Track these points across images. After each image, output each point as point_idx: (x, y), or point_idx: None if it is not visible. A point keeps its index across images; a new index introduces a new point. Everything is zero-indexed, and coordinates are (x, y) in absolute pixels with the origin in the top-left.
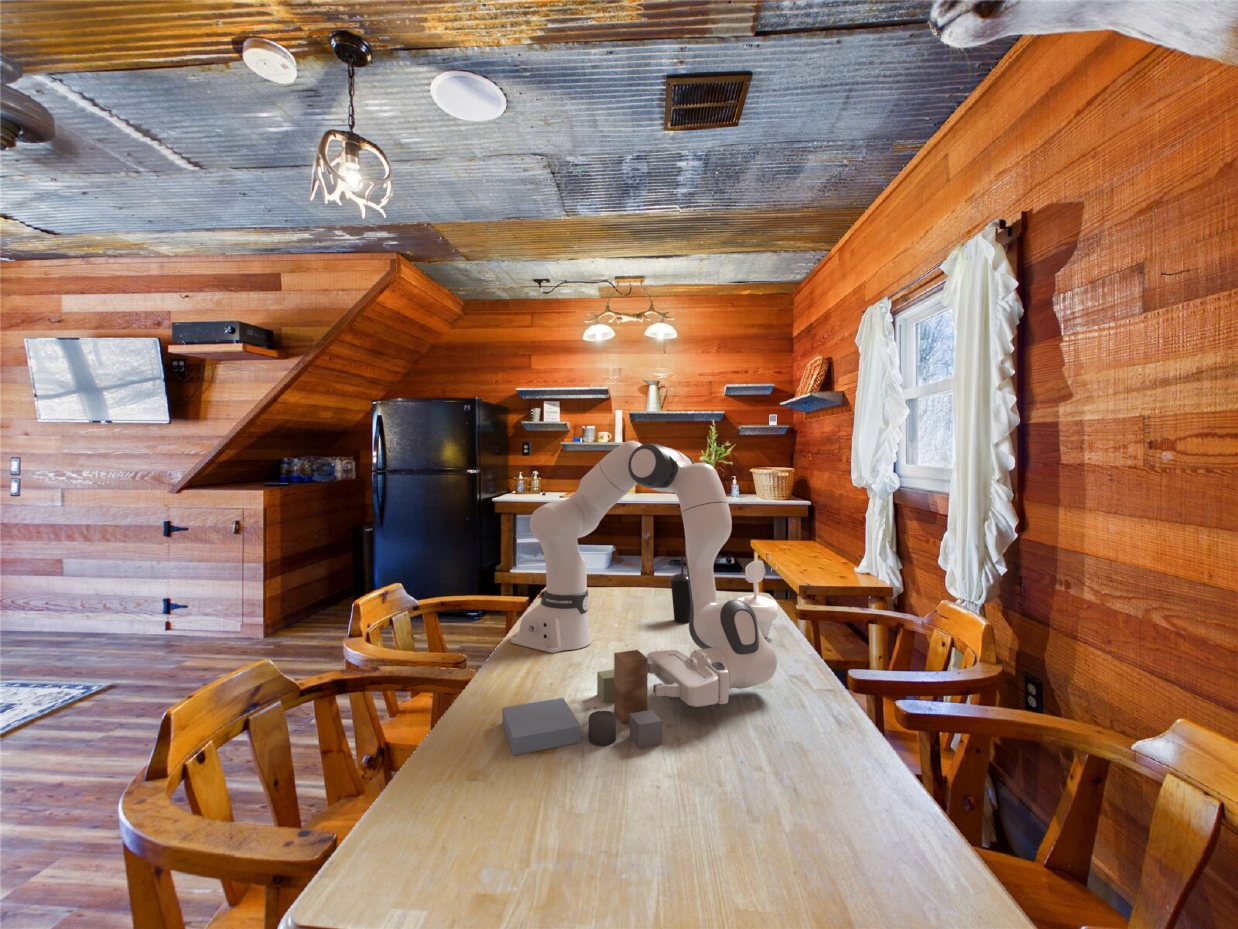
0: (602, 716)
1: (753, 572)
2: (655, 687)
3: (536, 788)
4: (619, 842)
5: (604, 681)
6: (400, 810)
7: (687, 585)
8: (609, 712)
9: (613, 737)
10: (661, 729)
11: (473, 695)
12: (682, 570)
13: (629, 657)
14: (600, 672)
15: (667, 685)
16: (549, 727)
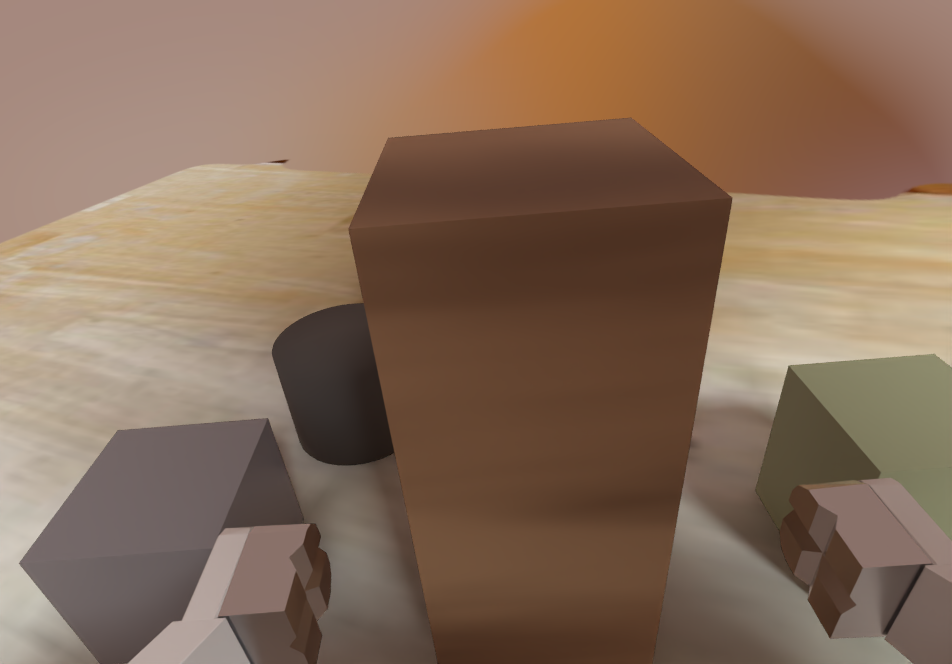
0: (346, 337)
1: None
2: (262, 527)
3: (230, 279)
4: None
5: (789, 386)
6: (322, 181)
7: None
8: (369, 363)
9: (296, 427)
10: (53, 600)
11: (783, 201)
12: None
13: (472, 155)
14: (924, 365)
15: (158, 655)
16: None
